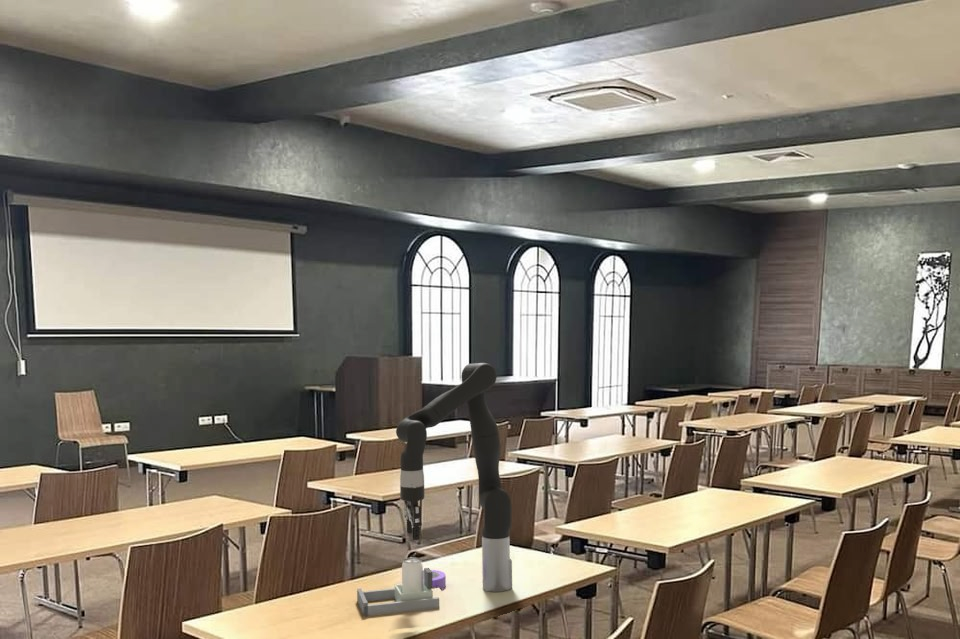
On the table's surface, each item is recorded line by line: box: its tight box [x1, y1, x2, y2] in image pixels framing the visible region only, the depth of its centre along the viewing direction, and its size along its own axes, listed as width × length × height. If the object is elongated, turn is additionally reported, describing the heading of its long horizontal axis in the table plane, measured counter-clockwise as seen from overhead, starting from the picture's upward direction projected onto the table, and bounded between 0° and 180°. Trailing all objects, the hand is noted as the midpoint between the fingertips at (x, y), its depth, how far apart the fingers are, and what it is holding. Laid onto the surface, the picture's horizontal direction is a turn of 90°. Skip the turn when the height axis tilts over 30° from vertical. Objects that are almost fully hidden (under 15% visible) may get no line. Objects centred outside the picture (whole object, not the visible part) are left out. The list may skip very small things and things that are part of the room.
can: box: [401, 557, 424, 594], centre depth 239 cm, size 6×6×12 cm
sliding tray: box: [394, 567, 434, 602], centre depth 238 cm, size 10×10×10 cm
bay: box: [356, 587, 440, 617], centre depth 236 cm, size 23×14×5 cm, turn 107°
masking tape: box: [423, 569, 447, 590], centre depth 258 cm, size 12×12×4 cm
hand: (413, 536), depth 238 cm, fingers open, 8 cm apart
